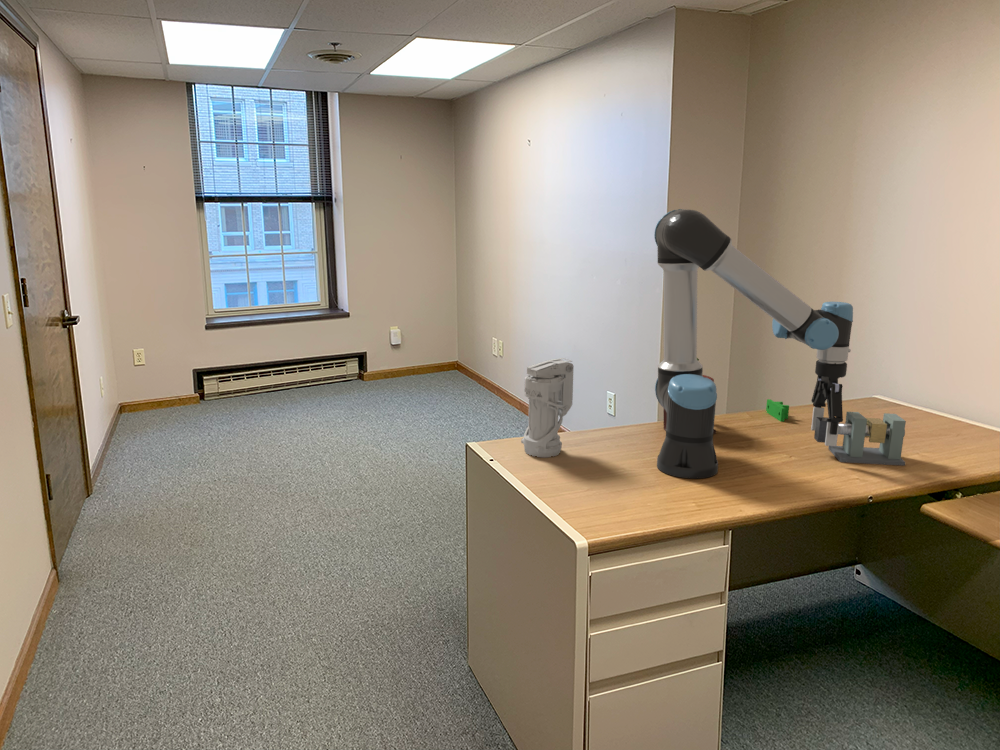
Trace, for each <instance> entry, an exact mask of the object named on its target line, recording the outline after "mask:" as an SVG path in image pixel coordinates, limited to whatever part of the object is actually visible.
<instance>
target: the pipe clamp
mask: <svg viewBox="0 0 1000 750" xmlns="http://www.w3.org/2000/svg"><path fill="white" fill-rule="evenodd" d="M766 411H767V412H766ZM765 412H766V414H768V415H770V416H771V417H772V418H774V419H776V420H777V421H779V422H783V423H784V422H785V420H788V419H789V412H790V405H789V404H784V401H774V400H772V399H769V398H768V399H766V406H765Z"/></svg>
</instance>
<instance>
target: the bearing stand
mask: <svg viewBox="0 0 1000 750" xmlns="http://www.w3.org/2000/svg"><path fill="white" fill-rule="evenodd" d="M882 416H883V418H882V421H883V422H885V423H886V424H887V426H890V432H889V437H885V443H879V447H865V438H866V437H865V432H866V424H867V419H866V418H867V417H866V416H864V415H863V414H862V413H860V412H859V411H846V414H845V421H844V424H852V429H851V435H843V440H842V445H837V446H827V447H828V450H829V452H831V453H832V455H833V456H834V457H835V458H836V459H837V460H838V462H840V463H850V464H851V463H852V464H867V465H868V464H869V465H870V464H871V465H883V466H884V465H887V466H888V465H889V466H906V461H905V460H904V459H903V458H902V453H903V452H902V450H903V444H904V437H905V436H904V431H905V432H906V422H907V421H906V420H905V419H904V418H902V417H901V416H899V415H898V414H897V413H889V412H888V413H883V415H882Z"/></svg>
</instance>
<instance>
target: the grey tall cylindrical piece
mask: <svg viewBox="0 0 1000 750" xmlns="http://www.w3.org/2000/svg"><path fill="white" fill-rule="evenodd" d="M565 360H566V361H565ZM571 362H573V360H572V359H571V360H570V359H569V358H566V357H565V358H564V357H561V358H554V359H548V360H544V361H541V362H539V363H535V364H533V365H528V367H527V366H526V374H527V375H526V376H524V397H526V398H528V426H527V427H526V429H525V432H524V434H523V438H521V440H520V442H521V444H523V448H524V452H525V454H527V455H528V454H529V455H528V456H531V455H532V456H531V457H535V456H537V457H536V458H552V457H551V456H553V457H556V456H558V455H559V453H560V454H561V450H562V445H563V443H562V441H561V437H560V435H559V434H558V432H559V430H560V428H561V426H562V423H563V420H564V419H563V418H564V416H566V415H567V414H568V412H569V411H570V409H571V408H572V407H573V396H574V395H573V392H574V364H573V363H571Z"/></svg>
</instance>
